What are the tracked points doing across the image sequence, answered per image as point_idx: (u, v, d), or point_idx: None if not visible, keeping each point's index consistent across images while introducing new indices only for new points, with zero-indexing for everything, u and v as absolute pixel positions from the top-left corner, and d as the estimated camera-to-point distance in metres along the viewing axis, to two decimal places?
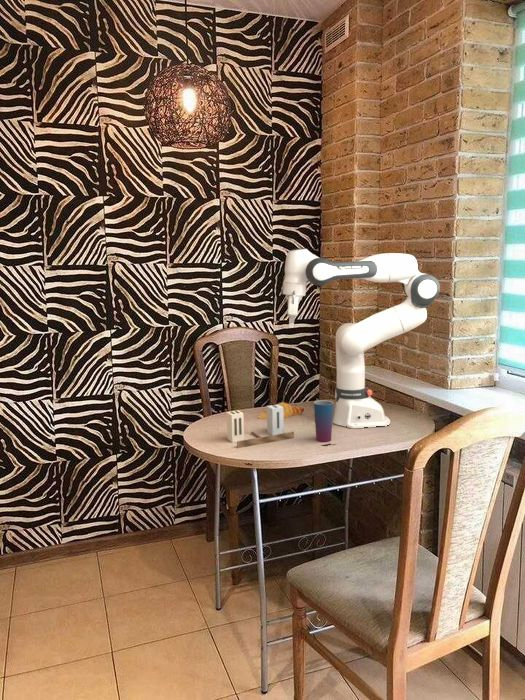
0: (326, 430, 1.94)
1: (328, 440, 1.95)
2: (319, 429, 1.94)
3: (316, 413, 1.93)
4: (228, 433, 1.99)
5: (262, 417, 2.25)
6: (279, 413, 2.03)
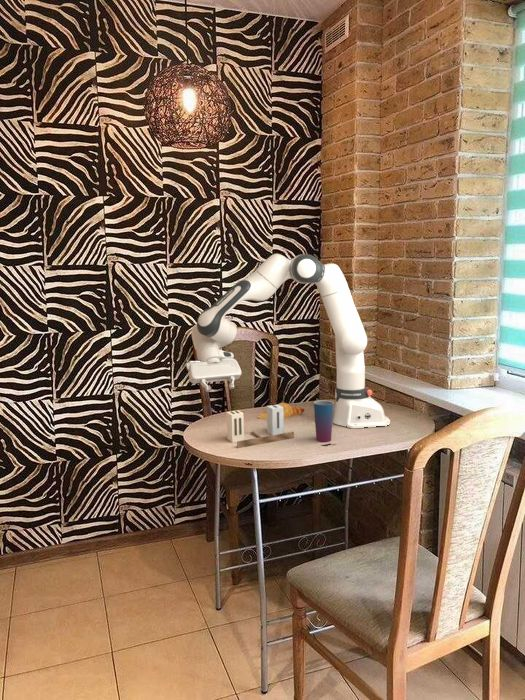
0: (326, 430, 1.94)
1: (328, 440, 1.95)
2: (319, 429, 1.94)
3: (316, 413, 1.93)
4: (228, 433, 1.99)
5: (262, 417, 2.25)
6: (279, 413, 2.03)
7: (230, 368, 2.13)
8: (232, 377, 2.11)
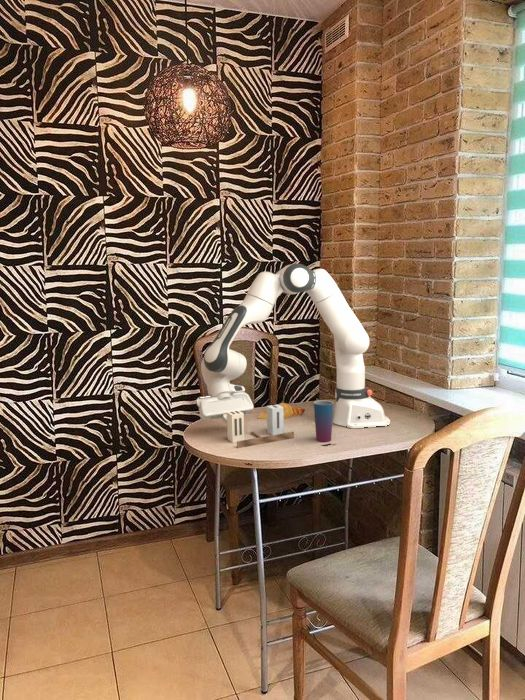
0: (326, 430, 1.93)
1: (328, 440, 1.95)
2: (319, 429, 1.94)
3: (316, 414, 1.93)
4: (228, 433, 1.98)
5: (262, 417, 2.25)
6: (279, 413, 2.03)
7: (242, 403, 2.06)
8: None
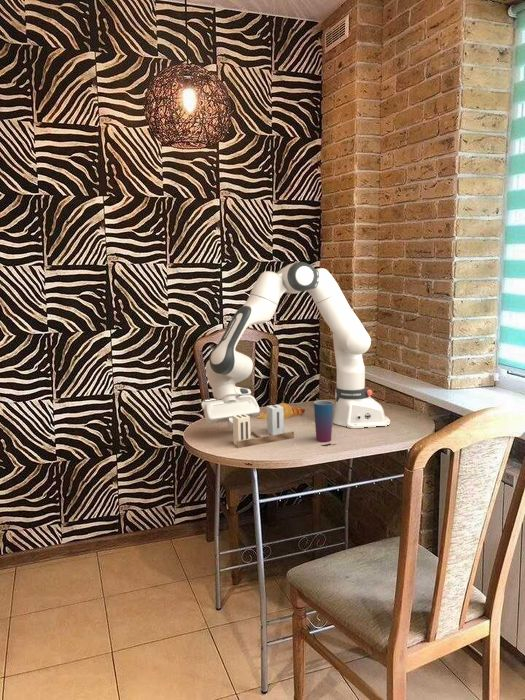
0: (326, 430, 1.93)
1: (328, 440, 1.95)
2: (319, 429, 1.94)
3: (316, 414, 1.93)
4: (234, 437, 1.94)
5: (261, 417, 2.25)
6: (279, 413, 2.03)
7: (248, 406, 2.01)
8: None
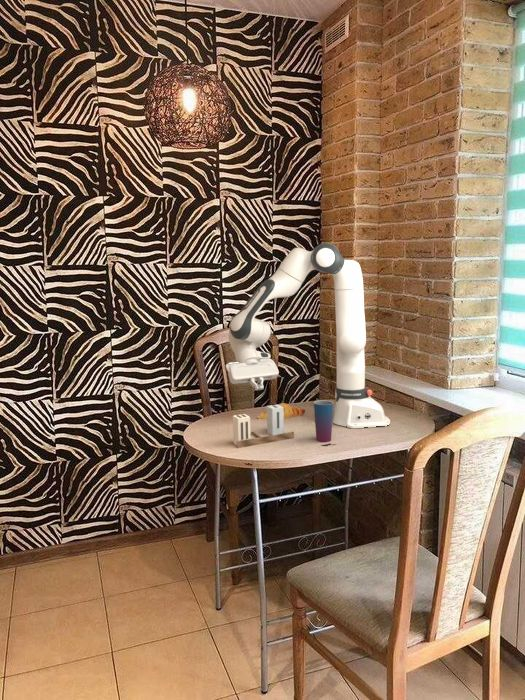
0: (326, 430, 1.94)
1: (328, 440, 1.95)
2: (319, 429, 1.94)
3: (316, 413, 1.93)
4: (234, 437, 1.94)
5: (261, 417, 2.25)
6: (279, 413, 2.03)
7: (268, 368, 2.20)
8: (261, 378, 2.17)
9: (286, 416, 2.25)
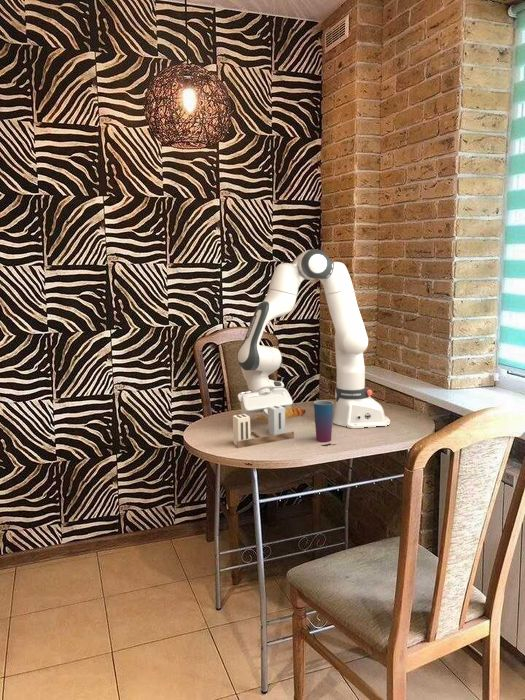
0: (326, 430, 1.93)
1: (328, 440, 1.95)
2: (319, 429, 1.94)
3: (316, 414, 1.93)
4: (234, 437, 1.94)
5: (261, 417, 2.25)
6: (281, 414, 2.02)
7: (281, 398, 2.12)
8: None
9: (286, 416, 2.24)
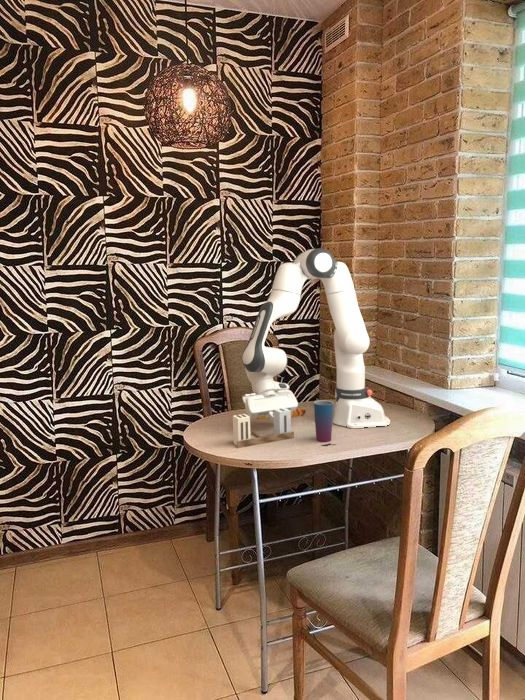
0: (326, 430, 1.94)
1: (328, 440, 1.95)
2: (319, 429, 1.94)
3: (316, 413, 1.93)
4: (234, 437, 1.94)
5: (261, 417, 2.25)
6: (287, 417, 1.98)
7: (286, 400, 2.08)
8: None
9: None
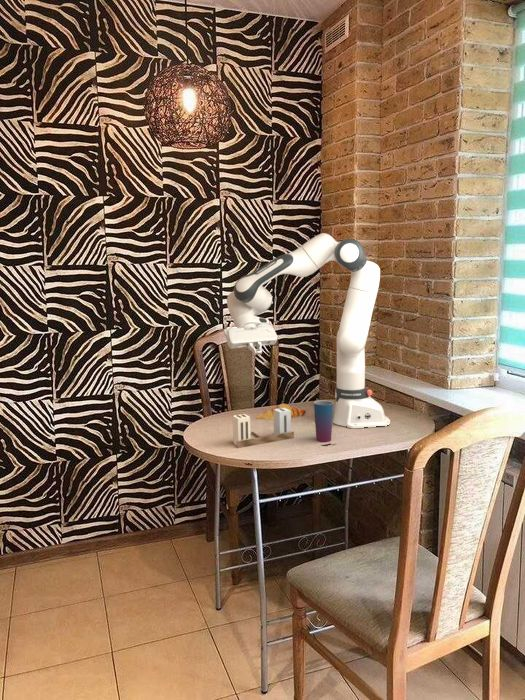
0: (326, 430, 1.94)
1: (328, 440, 1.95)
2: (319, 429, 1.94)
3: (316, 413, 1.93)
4: (234, 437, 1.94)
5: (261, 417, 2.24)
6: (287, 417, 1.98)
7: (266, 333, 2.17)
8: (259, 343, 2.14)
9: None
